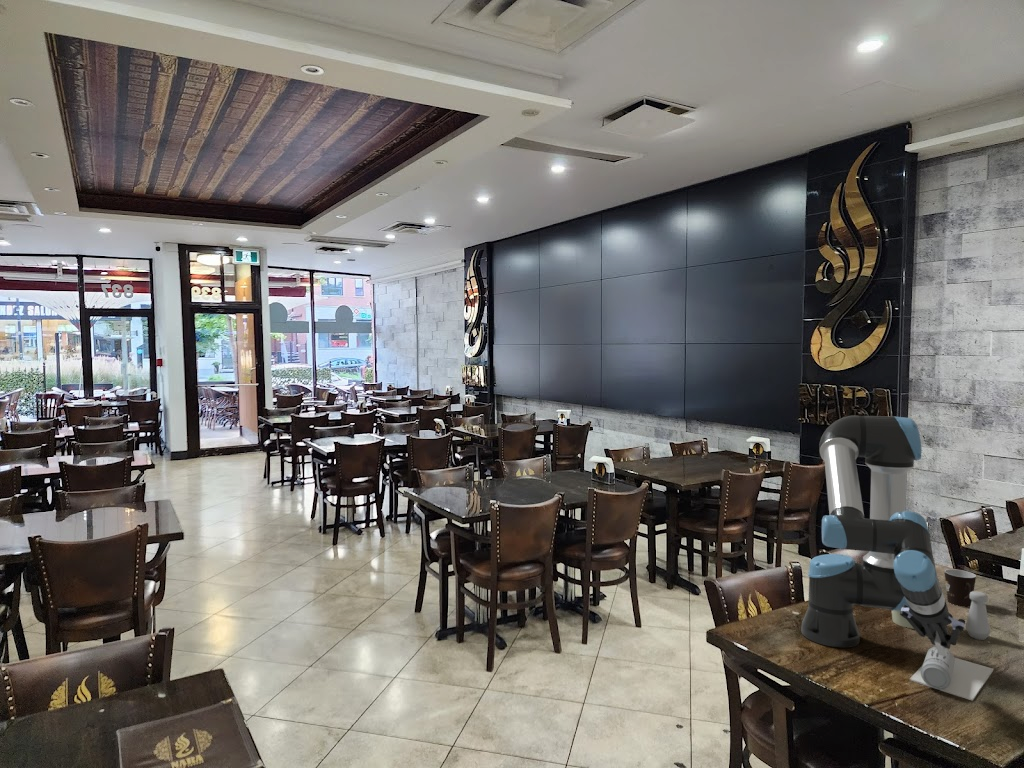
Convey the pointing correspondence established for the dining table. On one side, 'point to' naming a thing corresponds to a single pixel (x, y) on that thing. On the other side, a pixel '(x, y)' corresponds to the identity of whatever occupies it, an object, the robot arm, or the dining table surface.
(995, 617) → the dining table surface
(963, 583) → the coffee mug
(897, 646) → the dining table surface
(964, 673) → the mat
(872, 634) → the dining table surface
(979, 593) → the salt shaker
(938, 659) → the energy drink can
